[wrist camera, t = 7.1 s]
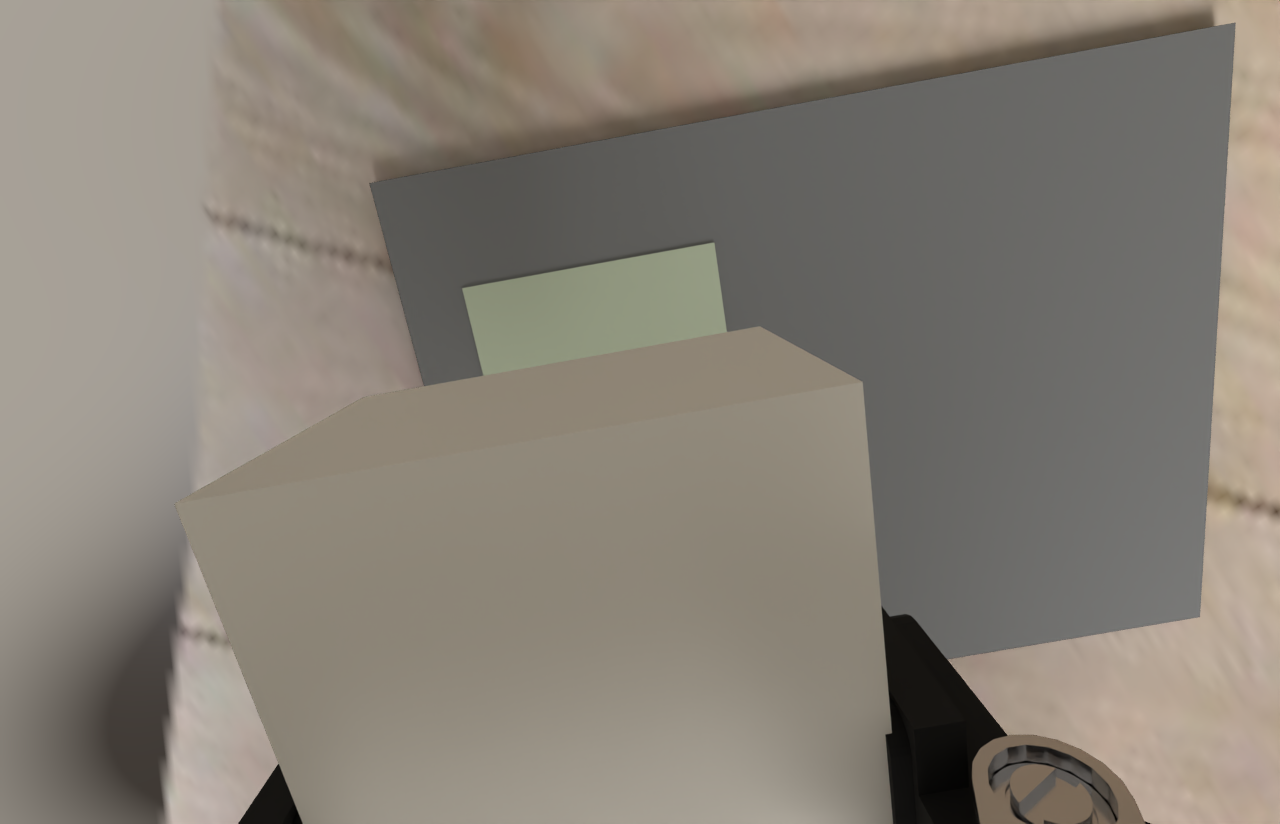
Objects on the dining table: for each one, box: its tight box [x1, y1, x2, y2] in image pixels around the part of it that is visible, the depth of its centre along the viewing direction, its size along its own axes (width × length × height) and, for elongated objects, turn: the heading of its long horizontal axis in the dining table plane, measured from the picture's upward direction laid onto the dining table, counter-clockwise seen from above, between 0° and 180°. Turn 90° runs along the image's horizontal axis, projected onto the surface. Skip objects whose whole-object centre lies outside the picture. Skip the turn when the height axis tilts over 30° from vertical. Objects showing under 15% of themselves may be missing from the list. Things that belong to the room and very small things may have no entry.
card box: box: [175, 326, 893, 824], centre depth 8 cm, size 6×10×4 cm, turn 10°
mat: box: [369, 23, 1235, 659], centre depth 21 cm, size 20×26×1 cm
